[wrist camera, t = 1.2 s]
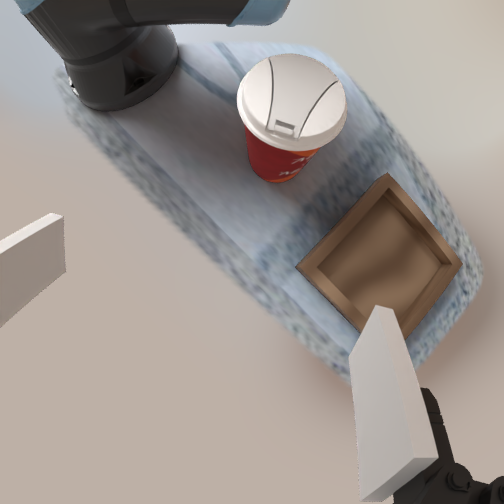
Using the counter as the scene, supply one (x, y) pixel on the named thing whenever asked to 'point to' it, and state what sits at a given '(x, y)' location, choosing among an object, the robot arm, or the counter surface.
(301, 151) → the coffee cup
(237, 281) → the counter surface
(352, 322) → the walnut tray
